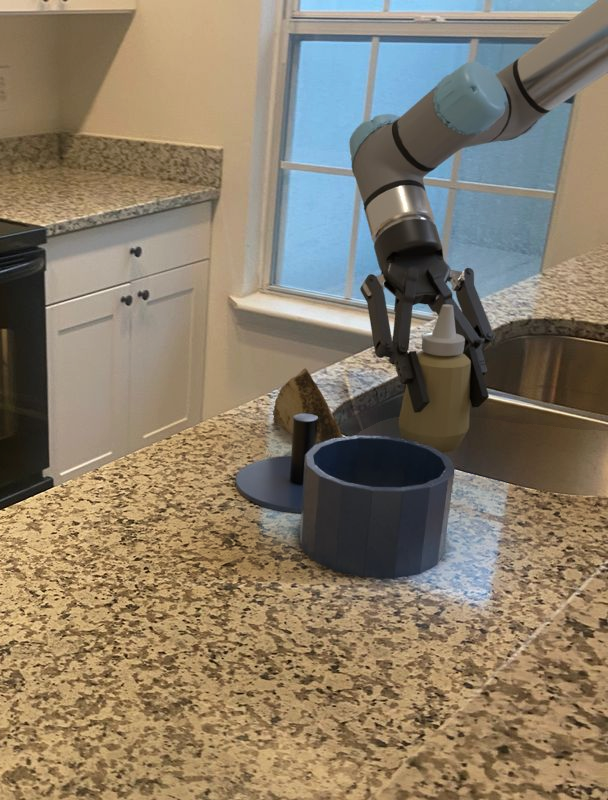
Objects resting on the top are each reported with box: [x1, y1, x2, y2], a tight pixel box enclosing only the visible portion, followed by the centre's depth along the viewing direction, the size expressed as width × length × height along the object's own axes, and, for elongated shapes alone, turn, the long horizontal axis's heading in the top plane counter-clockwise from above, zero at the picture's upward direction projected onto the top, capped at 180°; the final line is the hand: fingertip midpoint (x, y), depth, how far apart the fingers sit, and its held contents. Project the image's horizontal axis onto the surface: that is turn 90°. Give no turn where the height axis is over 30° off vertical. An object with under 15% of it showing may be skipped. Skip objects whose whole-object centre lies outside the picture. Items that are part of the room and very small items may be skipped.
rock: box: [272, 367, 343, 444], centre depth 128 cm, size 11×9×10 cm
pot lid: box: [235, 413, 318, 514], centre depth 113 cm, size 15×15×9 cm
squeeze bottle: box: [397, 304, 471, 454], centre depth 120 cm, size 8×8×18 cm
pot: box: [299, 434, 456, 580], centre depth 100 cm, size 14×14×10 cm
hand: (451, 404), depth 117 cm, fingers closed on squeeze bottle, 6 cm apart
